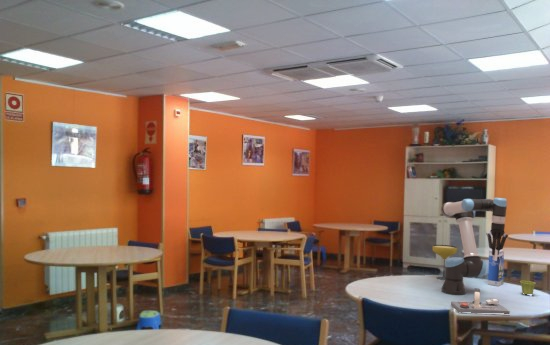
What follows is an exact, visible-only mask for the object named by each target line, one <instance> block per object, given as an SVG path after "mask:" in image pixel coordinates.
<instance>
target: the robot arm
mask: <svg viewBox="0 0 550 345" xmlns="http://www.w3.org/2000/svg"><path fill="white" fill-rule="evenodd" d="M507 202H508V200H507V198H505V197H504V198H502V197H494V198H493V199H491V198H483V199H481V198H479V199H477V198H464V199H462V200H461V201H456V202H455V201H448V202H447V201H446V202H444V203H442V204H441V206H440V207H441V208H440V212H441V213H442V215H443V216H445V217H446V218H450V219H455V222H456V223H458V228H459V231H460V237H461V238H460V239H461V243H462V248H463V257H459V256H457V257H455V256H454V257H447V258H446V259H445V280H443V284H442V287H441V292H442V293H444V294H448V295H454V296H455V295H456V296H459V295H460V296H461V295H466V287H465V285H464V278H476V279H477V278H482V277H483V276H484V275H486V271H487V264H486V262H485V260H484V259H482V257H481V256H480V255H479V254H478V249H477V244H476V238H475V234H474V228H473V223H472V222H473V221H474V218H476V212H491V226H490V231H489V232H486V234H485V235H486V236H487V243H488V247H489V249H490V250H491V249H492V255H493V260H494V261H497V255H499V251H500V250H502V249H503V248H504V247H505V243H506V241H507V238H508V237H509V235H508V234H506V233H505V227H506V224H505V223H506V215H507V206H508V204H507Z"/></svg>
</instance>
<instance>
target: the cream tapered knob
mask: <svg viewBox="0 0 550 345" xmlns="http://www.w3.org/2000/svg"><path fill="white" fill-rule="evenodd" d="M474 294H475V301H474V300H473V301H474V305H473V307H474V308H481V306H480V302H481V301H480V300H481V293H480V292H475V291H474Z"/></svg>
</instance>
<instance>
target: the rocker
mask: <svg viewBox="0 0 550 345" xmlns="http://www.w3.org/2000/svg"><path fill="white" fill-rule="evenodd" d="M485 303H487V304H499V300H498V299H496V298H493V299H492V298H489V299H486V300H485Z"/></svg>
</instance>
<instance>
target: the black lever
mask: <svg viewBox="0 0 550 345" xmlns="http://www.w3.org/2000/svg"><path fill="white" fill-rule="evenodd" d="M480 291H481V289H480V288H474V295H473V296H474V298H473V299H474V300H472V301H471V302H472V303H473V304H474V301H475V292H480ZM481 303H482V301H480V304H481Z"/></svg>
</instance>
